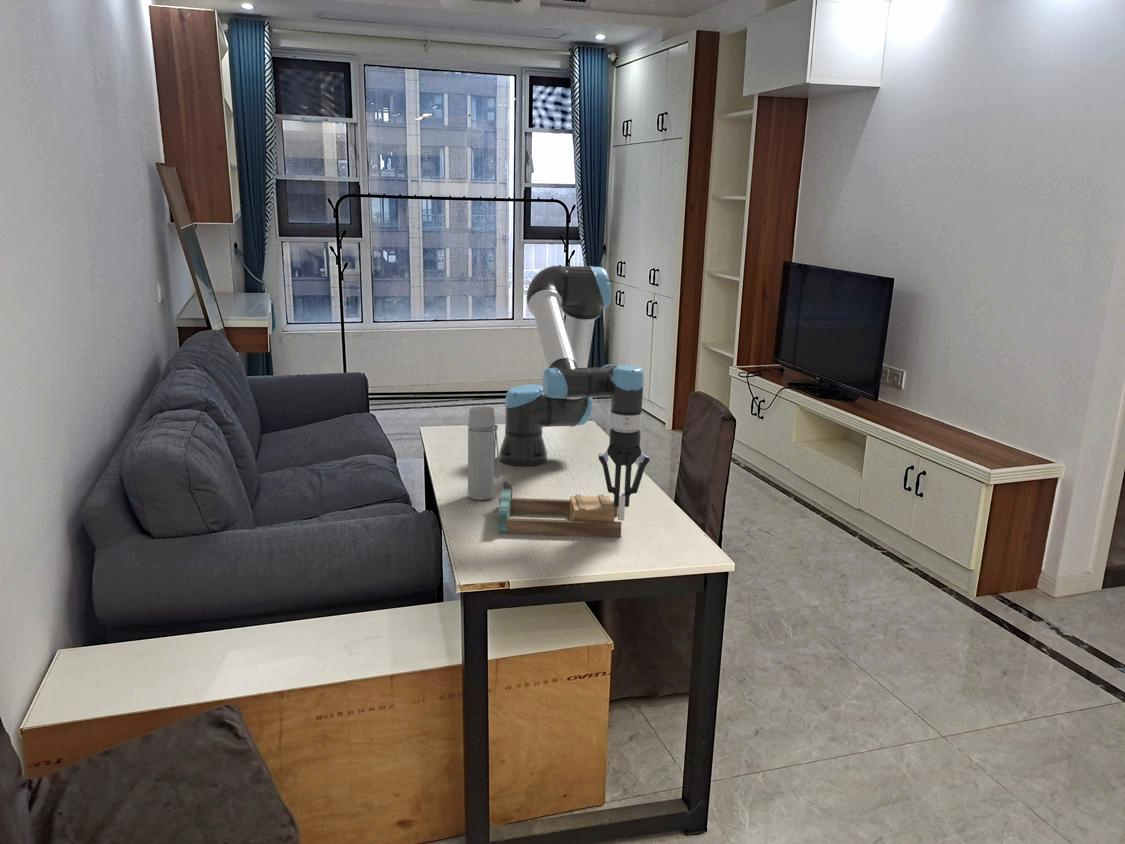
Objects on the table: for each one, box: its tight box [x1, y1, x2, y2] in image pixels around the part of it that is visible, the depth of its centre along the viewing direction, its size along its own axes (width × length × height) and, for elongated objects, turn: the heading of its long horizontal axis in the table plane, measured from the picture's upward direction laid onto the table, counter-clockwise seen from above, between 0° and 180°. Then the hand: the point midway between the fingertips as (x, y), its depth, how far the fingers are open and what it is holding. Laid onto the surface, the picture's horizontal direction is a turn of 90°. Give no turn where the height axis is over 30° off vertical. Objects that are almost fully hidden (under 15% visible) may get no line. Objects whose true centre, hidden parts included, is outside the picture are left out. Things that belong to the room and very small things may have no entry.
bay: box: [497, 480, 622, 538], centre depth 213 cm, size 20×31×7 cm, turn 90°
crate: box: [569, 494, 616, 521], centre depth 211 cm, size 10×10×6 cm
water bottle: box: [467, 405, 501, 502], centre depth 226 cm, size 9×8×25 cm
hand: (620, 518), depth 211 cm, fingers closed
